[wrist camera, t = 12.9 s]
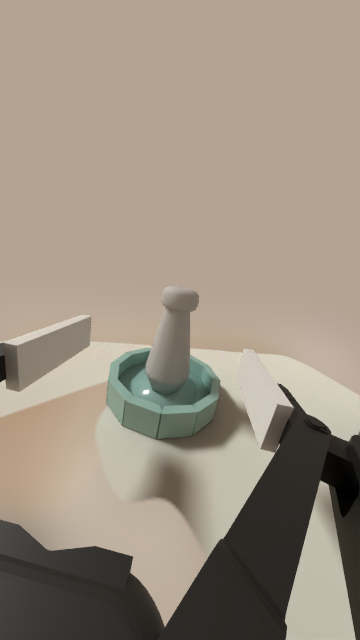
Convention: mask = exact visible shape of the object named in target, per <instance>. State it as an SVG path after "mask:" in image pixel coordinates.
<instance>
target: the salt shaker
mask: <svg viewBox="0 0 360 640" xmlns="http://www.w3.org/2000/svg"><path fill="white" fill-rule="evenodd" d="M198 303H199V295H198V294H197V293H196V292H195V291H193V290H191V289H188V288H183V287H177V286H169V287H166V288H165V289H164V291H163V294H162V304H163V305H164V306H166V307H165V310H164V312H163V315H162V318H161V321H160V324H159V327H158V330H157V333H156V336H155V339H154V342H153V345H152V348H151V350H150V353H149V356H148V359H147V362H146V375H147V378H148V380H149V383H150V385H151V388H152V390H153V391H156V392H159V393H161V394H164V395H168V394H172V393H175V392H178V391H179V390H180V388H181V387H182V386H183V385H184V383H185V382H186V381H187V378H188V376H189V374H190V312H191V311H194V310H196V308H197V306H198Z"/></svg>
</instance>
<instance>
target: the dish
mask: <svg viewBox="0 0 360 640" xmlns="http://www.w3.org/2000/svg"><path fill="white" fill-rule="evenodd" d="M150 350H151V348H144V349H139V350H134V351H130V352H126V353H125V354H123V355H122V356H120V357H119V358H118V359H116V360H115V361H113V362H112V363H111V367H110V373H109V378H108V388H107V399H106V404H107V405H108V407H109V408H110V409H111V411H112V412H113V414H114V415H115V416H116V418H117V419H118V421H119V422H120V423H121V425H123V426H124V427H127V428H129V429H132V430H134V431H137V432H139V433H142V434H144V435H147V436H149V437H152V438H154V439H156V437H157V439H165V438H175V437H186V436H192V435H194V434H195V433H197V432H198V431H199V430H200V429H202V428H203V427H204V426H205V425H207V424H208V423H209V422H210V421H212V420H213V417H214V413H215V410H216V406H217V403H218V399H219V391H220V380H219V378H218V377H217V376H216V374H215V373H214V372H213V370H212V369H211V368H210V366H209V365H207V364H205V363H203V362H202V361H200V360H198V359H197V358H195V357H193V356H192V355H191V356H190V374H189V376H188V378H187V381H186V382H185V383H184V385H183V386H182V387H181V388H180V390H179V391H178V392H175V393H172V394H168V395H164V394H161V393H159V392H156V391H153V390H152V388H151V385H150V383H149V380H148V378H147V375H146V362H147V359H148V356H149V353H150Z"/></svg>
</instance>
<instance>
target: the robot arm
mask: <svg viewBox="0 0 360 640" xmlns="http://www.w3.org/2000/svg"><path fill="white" fill-rule="evenodd" d="M90 330H91V316H88V315H80V316H78V317H74V318H71V319H68V320H66V321H63V322H60V323H57V324H54V325H51V326H48V327H46V328H43V329H40V330H37V331H34V332H31V333H29V334H26V335H23V336H20V337H17V338H14V339H11V340H9V341H6V342H3V343H1V344H0V382H1V381H3V380H5V379H6V389H10V390H14V391H18V392H20V391H21V390H23V389H24V388H26V387H27V386H29V385H30V384H32V383H33V382H35V381H37V380H38V379H40V378H41V377H43V376H44V375H46V374H47V373H49V372H50V371H52V370H53V369H55V368H56V367H58V366H59V365H61V364H62V363H64V362H65V361H67V360H68V359H70V358H72V357H73V356H75V355H76V354H78V353H79V352H81V351H82V350H84V349H85V348H87V347H88V346H90ZM235 378H236V381H237V384H238V387H239V390H240V392H241V395H242V398H243V401H244V404H245V407H246V410H247V413H248V415H249V418H250V421H251V424H252V427H253V430H254V433H255V436H256V438H257V441H258V444H259V447H260V449H263V450H267V451H271V452H276V450H277V447H278V445H279V443H280V447H279V448H278V450H277V452H276V453H275V455H274V456H273V458H272V460H271V461H270V463H269V465H268V466H267V468H266V470H265V471H264V473H263V475H262V476H261V478H260V480H259V481H258V483H257V485H256V486H255V488H254V490H253V491H252V493H251V495H250V496H249V498H248V499H247V501H246V503H245V504H244V506H243V508H242V509H241V511H240V513H239V514H238V516H237V518H236V519H235V521H234V523H233V524H232V526H231V528H230V529H229V531H228V533H227V534H226V536H225V537H224V538H223V539H221V540H220V541H219V542H218V543H217V545H216V546H215V548H214V549H213V551H212V552H211V554H210V556H209V557H208V559H207V561H206V562H205V564H204V566H203V567H202V569H201V570H200V572H199V573H198V575H197V577H196V578H195V580H194V582H193V583H192V585H191V586H190V588H189V590H188V591H187V593H186V594H185V596H184V598H183V599H182V601H181V602H180V604H179V606H178V607H177V609H176V610H175V612H174V614H173V615H172V617H171V619H170V620H169V622H168V623H167V625H166V627H164V624H163V621H162V619H161V616H160V613H159V611H158V609H157V607H156V605H155V603H154V601H153V599H152V597H151V596H150V594H149V593H148V591H147V590H146V588H145V587H144V586H143V585H142V584H141V582H140V581H139V580H138V579H137V578H136V577H135V576H133V575H132V574H131V573H130V570H131V565H132V559H133V557H132V556H129V555H125V554H122V553H118V552H114V551H111V550H107V549H103V548H100V547H96V546H93V547H83V548H75V549H65V550H57V551H49V550H47V549H45V548H44V547H43V546H42V545H41V544H40V543H39V542H38V541H37V540H35V539H34V538H33V537H32V536H31V535H30V534H29V533H28V532H27V531H25V530H24V529H23V528H22V527H21V526H20V525H17V524H14V523H10V522H6V521H3V520H0V640H285V639H286V631H287V625H286V623H285V615H286V611H287V606H288V602H289V599H290V595H291V591H292V587H293V583H294V579H295V575H296V571H297V567H298V564H299V560H300V556H301V552H302V548H303V544H304V540H305V536H306V532H307V528H308V525H309V521H310V517H311V513H312V509H313V505H314V501H315V497H316V493H317V490H318V486H319V482H320V480H321V481H323V482H325V483H327V484H328V485H329V489H330V495H331V501H332V506H333V512H334V518H335V523H336V529H337V535H338V540H339V546H340V552H341V557H342V563H343V569H344V575H345V580H346V586H347V592H348V597H349V603H350V609H351V614H352V620H353V626H354V631H355V637H356V640H360V432H359V434H358V435H353V436H352V437H351V439H350V441H349V442H347V441H345V440H343V439H340V438H338V437H336V436H333V435H331V431H330V430H329V428H328V427H327V426H326V425H325V424H324V423H323V422H321V421H320V420H318V419H317V418H314V417H312V416H310V415H307V414H306V413H305V411H304V410H303V409H302V408H301V406H300V405H299V404H298V402H297V401H296V400H295V398H294V397H292V394H291V393H290V392H289V391H288V389H286V388H285V387H284V386H283V385H281V384H277V383H276V382H275V380H274V379H273V377H272V376H271V375H270V373H269V372H268V370H267V369H266V367H265V366H264V365H263V363H262V362H261V360H260V359H259V358H258V356H257V355H256V353H255V352H254V351H253V350H249V349H244V350H243V354H242V357H241V360H240V364H239V367H238V370H237V374H236V377H235Z"/></svg>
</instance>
